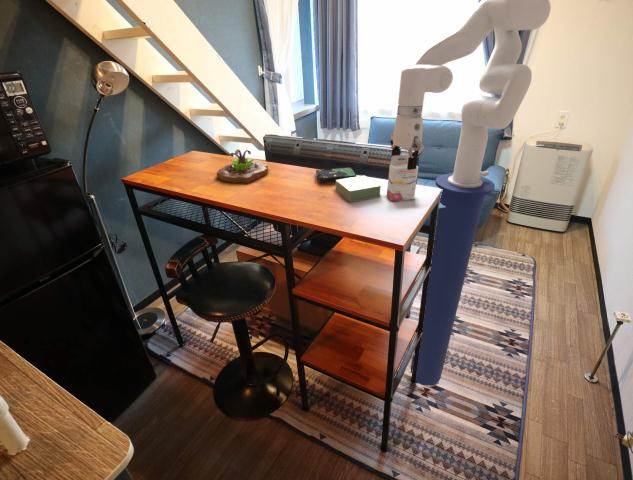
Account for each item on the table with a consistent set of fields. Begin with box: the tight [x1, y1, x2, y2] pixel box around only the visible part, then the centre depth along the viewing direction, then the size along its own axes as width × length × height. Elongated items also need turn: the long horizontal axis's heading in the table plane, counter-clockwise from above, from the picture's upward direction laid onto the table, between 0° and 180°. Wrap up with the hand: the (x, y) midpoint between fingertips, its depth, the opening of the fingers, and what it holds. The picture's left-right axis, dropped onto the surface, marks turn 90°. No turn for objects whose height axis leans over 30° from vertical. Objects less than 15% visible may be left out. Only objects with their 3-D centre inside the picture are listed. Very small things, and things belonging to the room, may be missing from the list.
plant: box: [216, 149, 269, 184], centre depth 143 cm, size 20×20×11 cm
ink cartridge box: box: [386, 154, 419, 202], centre depth 118 cm, size 9×5×15 cm, turn 100°
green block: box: [335, 175, 382, 203], centre depth 125 cm, size 12×12×4 cm
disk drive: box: [315, 167, 357, 185], centre depth 139 cm, size 10×3×15 cm
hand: (403, 164), depth 115 cm, fingers open, 9 cm apart
